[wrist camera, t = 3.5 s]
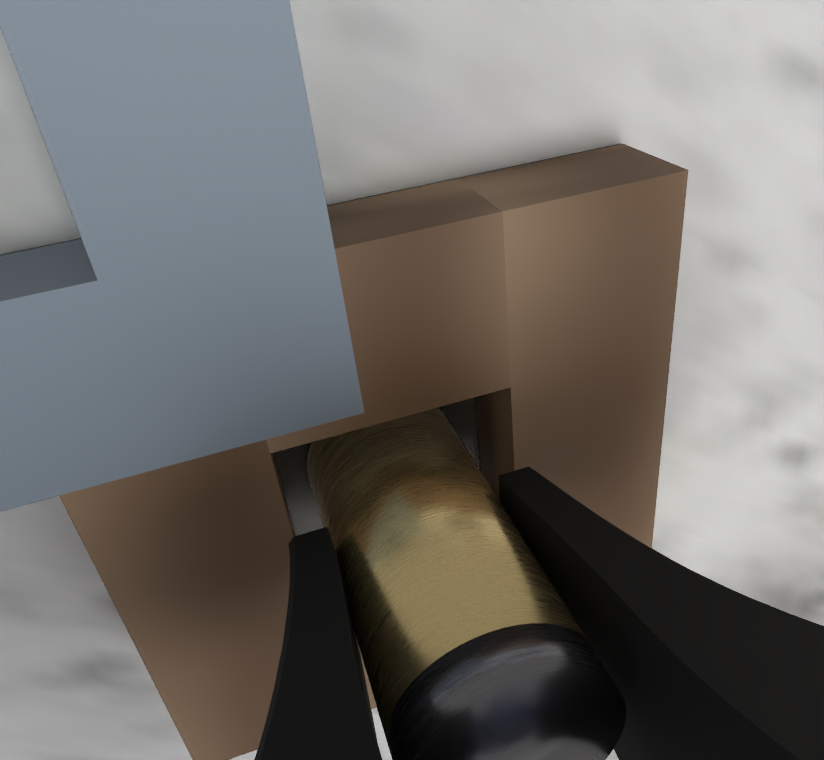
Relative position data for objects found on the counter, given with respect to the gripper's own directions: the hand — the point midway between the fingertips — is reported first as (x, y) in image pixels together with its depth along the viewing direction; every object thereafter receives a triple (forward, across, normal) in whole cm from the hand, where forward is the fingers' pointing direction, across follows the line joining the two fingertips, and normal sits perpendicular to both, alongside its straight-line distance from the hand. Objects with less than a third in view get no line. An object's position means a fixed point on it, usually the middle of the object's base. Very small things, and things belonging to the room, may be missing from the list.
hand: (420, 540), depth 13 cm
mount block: (+3, 0, 0) cm, 3 cm away
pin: (+3, 0, 0) cm, 3 cm away
